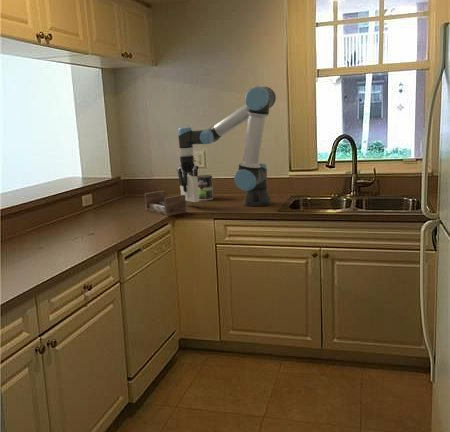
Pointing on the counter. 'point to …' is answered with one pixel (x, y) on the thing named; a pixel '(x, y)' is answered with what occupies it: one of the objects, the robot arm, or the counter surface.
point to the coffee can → (205, 187)
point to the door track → (164, 203)
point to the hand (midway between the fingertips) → (189, 196)
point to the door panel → (191, 189)
